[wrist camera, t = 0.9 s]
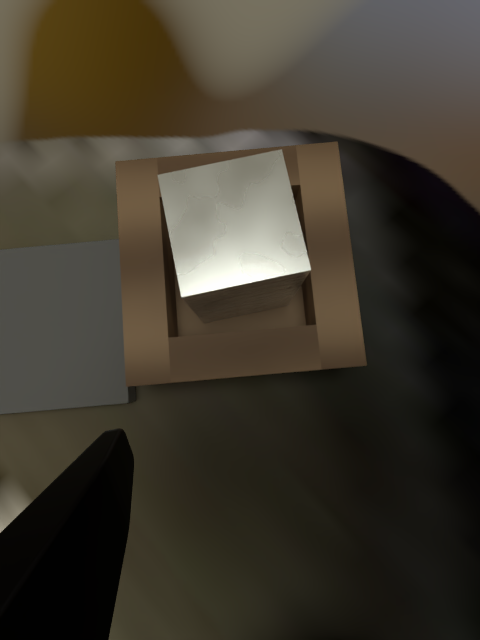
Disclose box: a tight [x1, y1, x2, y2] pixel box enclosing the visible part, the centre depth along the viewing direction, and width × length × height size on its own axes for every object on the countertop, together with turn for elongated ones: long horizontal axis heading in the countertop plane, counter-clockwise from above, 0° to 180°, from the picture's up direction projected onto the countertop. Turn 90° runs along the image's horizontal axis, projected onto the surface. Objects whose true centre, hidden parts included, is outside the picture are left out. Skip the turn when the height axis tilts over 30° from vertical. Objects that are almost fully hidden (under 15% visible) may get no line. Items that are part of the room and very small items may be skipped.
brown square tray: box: [115, 142, 367, 387], centre depth 22 cm, size 12×12×5 cm
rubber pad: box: [0, 239, 136, 414], centre depth 23 cm, size 10×10×2 cm
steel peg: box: [158, 149, 311, 323], centre depth 18 cm, size 5×5×8 cm
